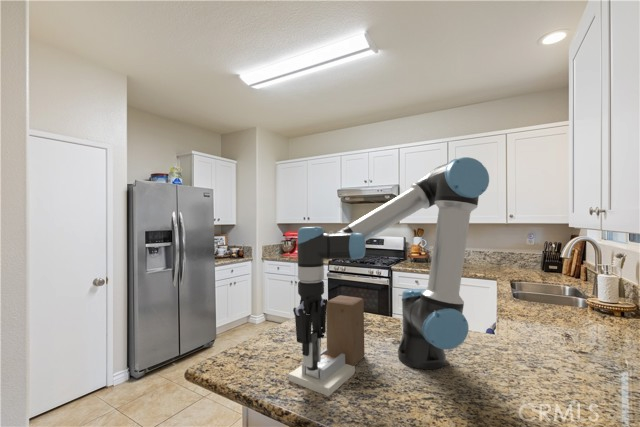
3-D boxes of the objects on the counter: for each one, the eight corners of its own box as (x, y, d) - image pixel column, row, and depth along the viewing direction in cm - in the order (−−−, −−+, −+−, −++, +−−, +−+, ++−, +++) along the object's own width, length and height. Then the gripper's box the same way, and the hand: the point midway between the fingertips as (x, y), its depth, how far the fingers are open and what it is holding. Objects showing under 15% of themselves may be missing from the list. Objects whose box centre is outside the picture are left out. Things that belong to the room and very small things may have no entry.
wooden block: (353, 369, 93) (351, 304, 93) (325, 361, 98) (324, 300, 99) (365, 356, 101) (364, 297, 102) (340, 350, 106) (339, 294, 107)
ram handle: (335, 365, 90) (335, 324, 91) (315, 381, 82) (314, 335, 82) (323, 361, 93) (323, 322, 93) (302, 376, 84) (302, 332, 84)
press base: (354, 373, 90) (354, 356, 90) (328, 396, 78) (328, 377, 78) (317, 361, 98) (317, 346, 98) (288, 380, 86) (288, 363, 86)
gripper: (317, 274, 94) (318, 349, 93) (281, 284, 81) (282, 371, 80) (337, 277, 89) (338, 355, 89) (303, 287, 76) (304, 379, 75)
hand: (312, 363), depth 84 cm, fingers closed on ram handle, 3 cm apart
